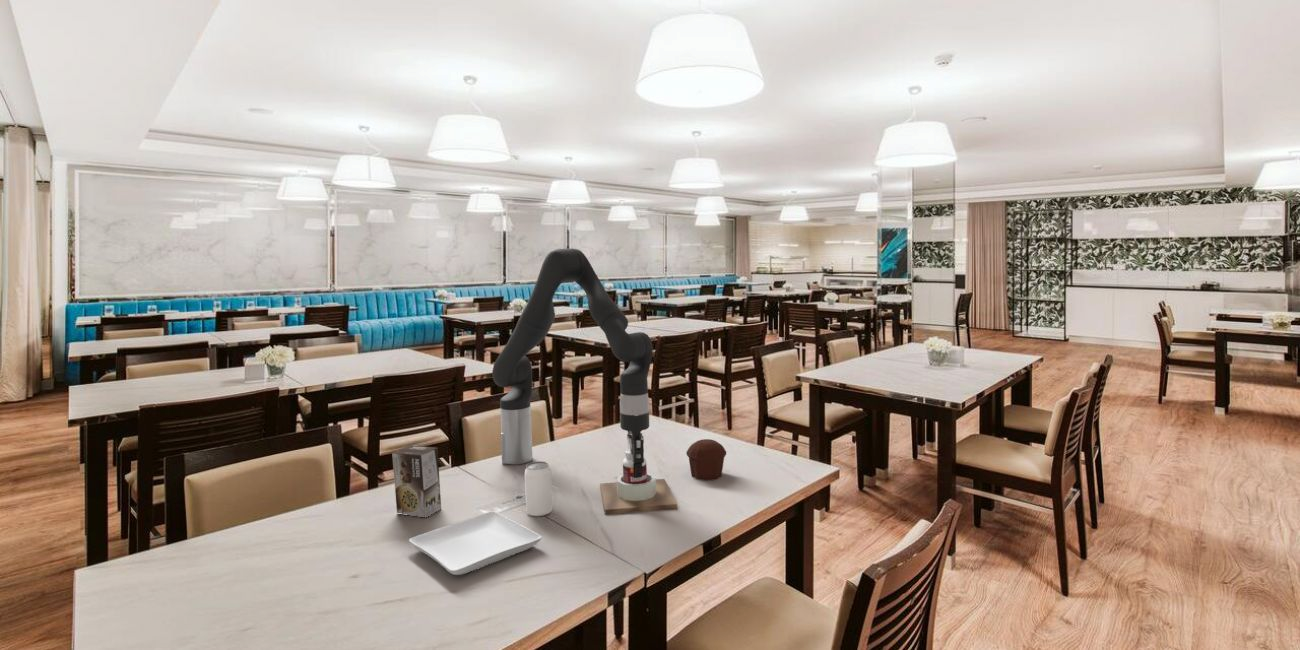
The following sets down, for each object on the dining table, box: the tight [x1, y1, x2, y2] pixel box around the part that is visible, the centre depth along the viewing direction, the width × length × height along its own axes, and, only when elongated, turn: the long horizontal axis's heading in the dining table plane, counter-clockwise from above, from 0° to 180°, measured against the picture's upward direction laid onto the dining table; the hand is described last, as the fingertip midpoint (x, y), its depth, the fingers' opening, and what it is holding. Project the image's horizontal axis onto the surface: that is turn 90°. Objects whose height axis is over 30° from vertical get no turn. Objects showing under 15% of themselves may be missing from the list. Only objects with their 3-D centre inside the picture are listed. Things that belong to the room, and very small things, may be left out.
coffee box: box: [391, 445, 442, 519], centre depth 151 cm, size 9×6×16 cm
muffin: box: [685, 438, 727, 481], centre depth 174 cm, size 12×11×10 cm
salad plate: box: [408, 510, 543, 576], centre depth 131 cm, size 21×21×3 cm
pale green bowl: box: [616, 472, 656, 501], centre depth 158 cm, size 10×10×4 cm
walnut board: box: [599, 478, 678, 515], centre depth 158 cm, size 18×18×1 cm
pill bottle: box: [622, 448, 648, 484], centre depth 157 cm, size 6×6×11 cm
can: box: [524, 461, 553, 517], centre depth 150 cm, size 6×6×12 cm
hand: (636, 471), depth 157 cm, fingers open, 7 cm apart
